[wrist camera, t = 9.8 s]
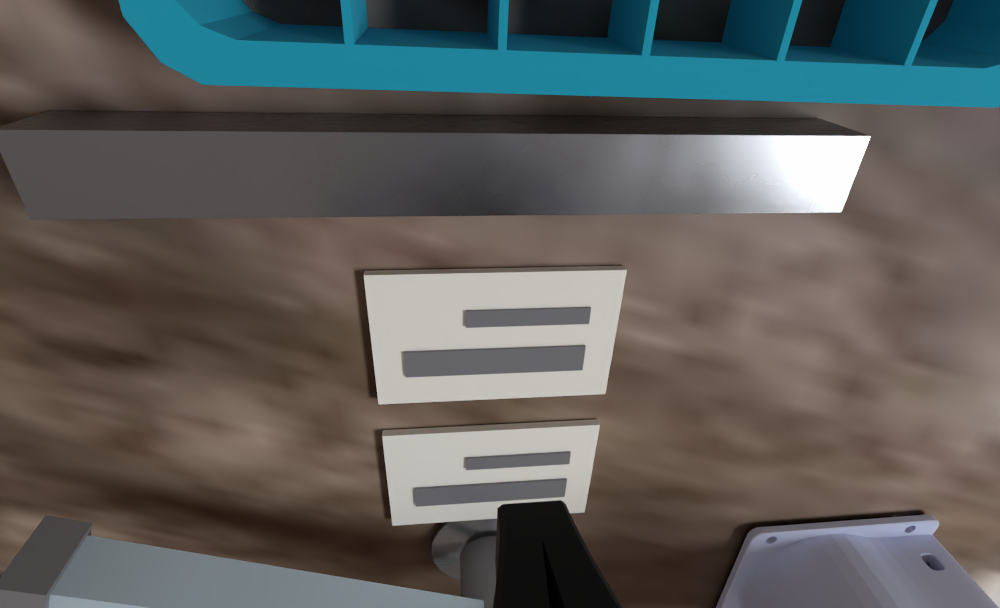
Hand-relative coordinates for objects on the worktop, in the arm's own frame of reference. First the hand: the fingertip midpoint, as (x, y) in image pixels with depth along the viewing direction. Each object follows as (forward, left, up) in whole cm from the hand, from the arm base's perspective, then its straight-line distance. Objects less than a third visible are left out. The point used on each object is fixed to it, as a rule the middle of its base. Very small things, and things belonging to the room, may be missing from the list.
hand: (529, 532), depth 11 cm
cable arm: (+6, +8, -7) cm, 12 cm away
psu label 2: (0, +7, -7) cm, 10 cm away
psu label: (0, 0, -7) cm, 7 cm away
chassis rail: (+1, -6, -7) cm, 10 cm away
